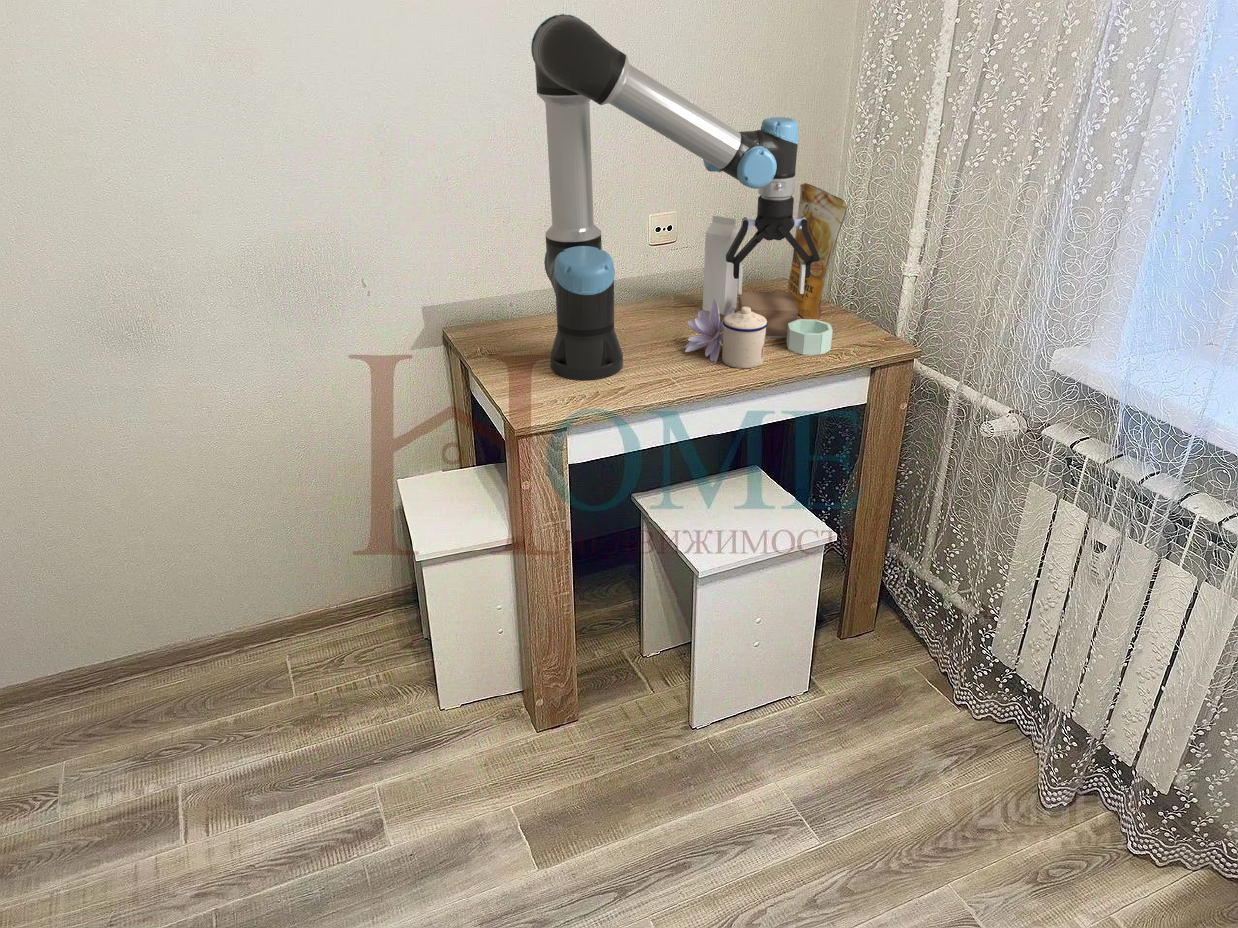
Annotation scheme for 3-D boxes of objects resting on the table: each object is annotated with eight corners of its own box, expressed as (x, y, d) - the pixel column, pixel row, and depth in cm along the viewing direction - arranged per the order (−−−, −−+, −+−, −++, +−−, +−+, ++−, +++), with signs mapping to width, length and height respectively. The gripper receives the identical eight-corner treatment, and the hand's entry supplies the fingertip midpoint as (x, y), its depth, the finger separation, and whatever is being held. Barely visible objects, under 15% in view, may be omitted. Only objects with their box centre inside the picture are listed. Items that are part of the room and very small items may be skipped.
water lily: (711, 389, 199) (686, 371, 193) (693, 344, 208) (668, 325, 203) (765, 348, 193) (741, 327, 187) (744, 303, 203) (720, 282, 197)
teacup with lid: (771, 366, 192) (775, 313, 186) (730, 371, 190) (733, 317, 184) (749, 345, 202) (752, 294, 196) (709, 350, 200) (712, 298, 194)
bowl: (789, 356, 197) (791, 334, 195) (784, 340, 205) (786, 319, 202) (832, 357, 197) (834, 335, 194) (826, 341, 204) (828, 319, 202)
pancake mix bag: (803, 296, 229) (814, 180, 216) (836, 323, 213) (851, 200, 200) (777, 298, 228) (787, 182, 214) (809, 326, 212) (821, 202, 198)
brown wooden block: (741, 335, 206) (742, 309, 203) (737, 316, 217) (739, 291, 214) (795, 336, 206) (798, 310, 203) (789, 316, 216) (791, 292, 213)
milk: (714, 304, 225) (719, 212, 214) (737, 309, 222) (742, 216, 211) (701, 311, 221) (705, 218, 210) (724, 316, 218) (729, 222, 207)
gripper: (717, 201, 194) (714, 298, 205) (838, 199, 193) (829, 297, 203) (716, 192, 201) (713, 286, 211) (832, 190, 199) (824, 286, 210)
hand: (770, 292), depth 207 cm, fingers open, 13 cm apart
